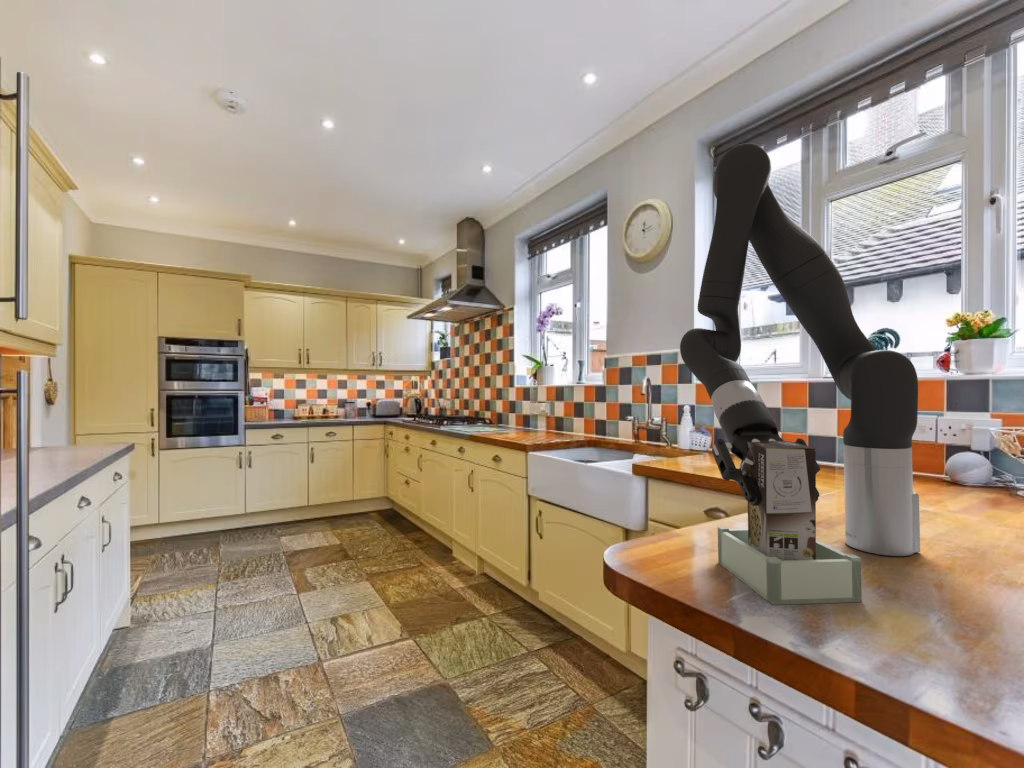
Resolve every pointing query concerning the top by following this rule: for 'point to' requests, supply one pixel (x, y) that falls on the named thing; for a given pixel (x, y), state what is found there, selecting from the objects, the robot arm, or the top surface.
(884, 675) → the top surface
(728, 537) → the crate
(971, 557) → the top surface
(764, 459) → the coffee box
